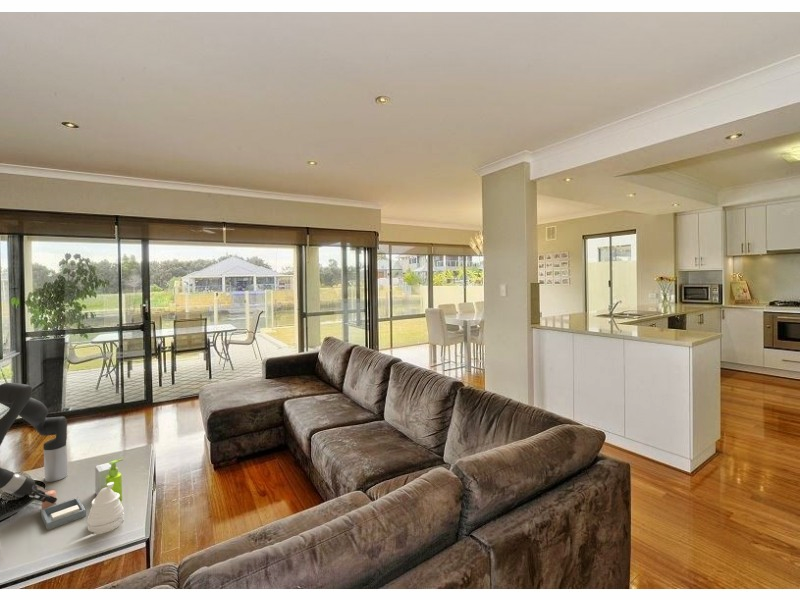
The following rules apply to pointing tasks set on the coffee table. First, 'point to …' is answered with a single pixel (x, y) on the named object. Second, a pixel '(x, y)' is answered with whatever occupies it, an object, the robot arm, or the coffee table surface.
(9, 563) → the coffee table surface
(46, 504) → the peach rounded ovoid
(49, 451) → the robot arm
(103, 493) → the honey pot
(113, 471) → the soap dispenser
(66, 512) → the cream rectangular block
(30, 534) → the coffee table surface
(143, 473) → the coffee table surface
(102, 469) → the skincare box
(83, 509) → the tray
